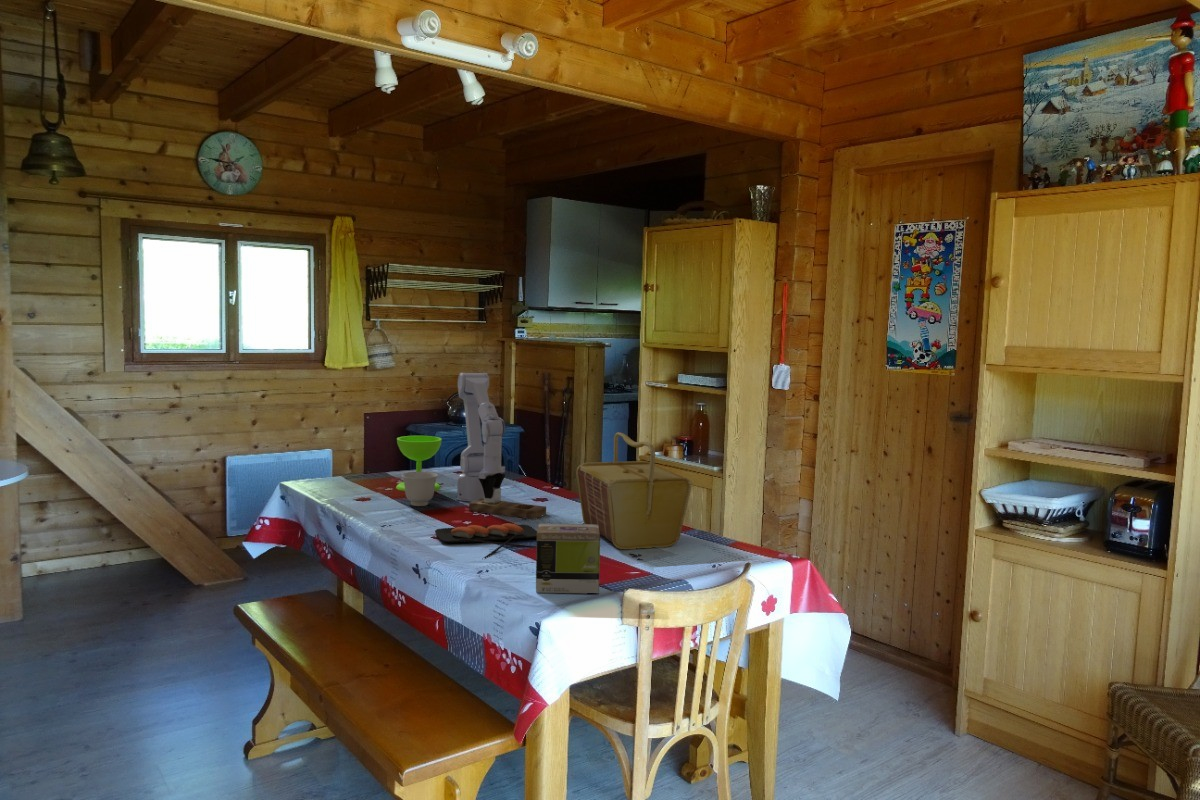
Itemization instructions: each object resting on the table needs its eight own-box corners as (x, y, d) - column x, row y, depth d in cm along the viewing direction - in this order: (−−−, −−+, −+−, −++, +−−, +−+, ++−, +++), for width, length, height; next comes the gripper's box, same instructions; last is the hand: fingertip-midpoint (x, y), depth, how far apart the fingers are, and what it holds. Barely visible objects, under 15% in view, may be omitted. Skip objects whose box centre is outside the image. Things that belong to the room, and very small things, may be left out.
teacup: (444, 499, 298) (445, 471, 297) (431, 509, 283) (432, 479, 282) (410, 497, 299) (410, 469, 298) (395, 507, 284) (396, 477, 283)
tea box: (597, 582, 213) (599, 523, 211) (598, 595, 203) (601, 533, 201) (536, 580, 212) (538, 521, 211) (534, 593, 202) (536, 531, 201)
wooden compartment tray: (469, 510, 283) (469, 502, 283) (480, 505, 291) (481, 497, 290) (535, 519, 275) (535, 510, 275) (546, 514, 282) (546, 505, 282)
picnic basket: (572, 528, 265) (575, 431, 262) (649, 524, 275) (653, 430, 272) (606, 553, 238) (610, 446, 235) (690, 548, 247) (696, 444, 244)
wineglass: (392, 484, 321) (392, 436, 319) (434, 482, 327) (435, 435, 326) (401, 493, 306) (402, 442, 304) (445, 490, 313) (446, 441, 311)
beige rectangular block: (483, 509, 284) (484, 488, 283) (489, 507, 287) (490, 486, 287) (494, 510, 282) (495, 489, 282) (500, 508, 286) (500, 487, 285)
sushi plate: (528, 529, 263) (528, 517, 263) (559, 556, 236) (559, 543, 235) (432, 535, 253) (432, 522, 253) (453, 563, 225) (453, 549, 225)
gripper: (492, 460, 275) (491, 502, 276) (513, 454, 289) (512, 494, 290) (473, 458, 277) (472, 499, 279) (494, 452, 291) (493, 492, 292)
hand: (491, 496), depth 284 cm, fingers closed on beige rectangular block, 4 cm apart
